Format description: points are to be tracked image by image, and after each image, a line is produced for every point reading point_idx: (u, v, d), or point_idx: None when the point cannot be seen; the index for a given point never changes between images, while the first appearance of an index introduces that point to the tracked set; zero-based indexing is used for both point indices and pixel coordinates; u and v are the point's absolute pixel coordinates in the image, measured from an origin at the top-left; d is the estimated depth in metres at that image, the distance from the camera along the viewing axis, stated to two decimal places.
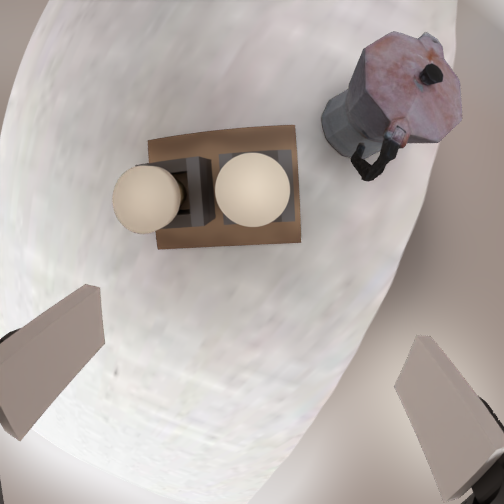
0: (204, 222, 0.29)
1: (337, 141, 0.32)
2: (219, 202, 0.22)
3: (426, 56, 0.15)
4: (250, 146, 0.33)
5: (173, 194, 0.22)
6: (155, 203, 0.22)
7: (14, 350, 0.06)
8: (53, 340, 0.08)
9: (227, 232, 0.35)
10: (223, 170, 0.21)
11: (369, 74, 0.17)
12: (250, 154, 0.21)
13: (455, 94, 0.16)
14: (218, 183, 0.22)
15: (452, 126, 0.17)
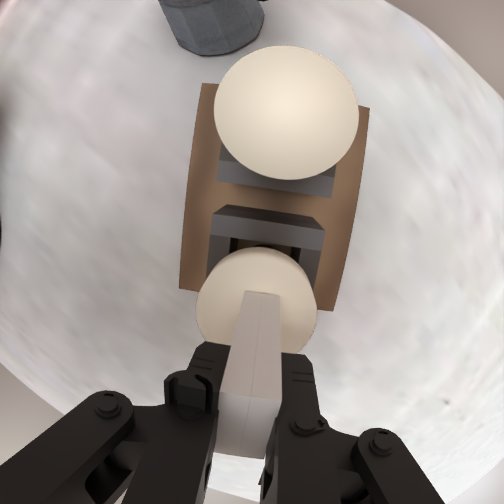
0: (319, 229, 0.18)
1: (235, 35, 0.20)
2: (298, 174, 0.11)
3: None
4: (220, 145, 0.23)
5: (261, 256, 0.13)
6: (268, 292, 0.13)
7: (251, 363, 0.08)
8: None
9: (336, 204, 0.23)
10: (237, 153, 0.11)
11: None
12: (218, 99, 0.10)
13: None
14: (261, 168, 0.11)
15: None
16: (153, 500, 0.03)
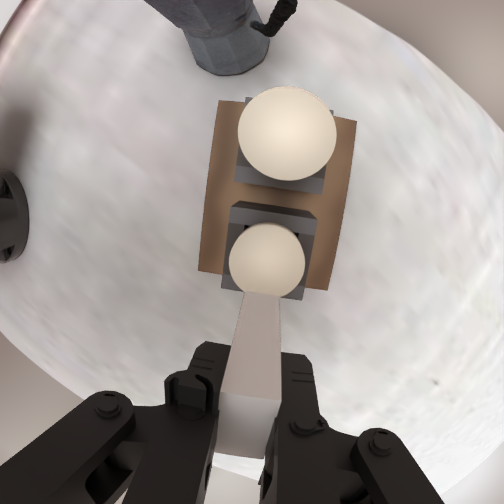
0: (313, 218, 0.23)
1: (246, 59, 0.25)
2: (295, 177, 0.16)
3: None
4: (234, 152, 0.28)
5: (270, 225, 0.21)
6: (274, 247, 0.21)
7: (251, 363, 0.08)
8: None
9: (329, 201, 0.28)
10: (254, 162, 0.16)
11: None
12: (240, 125, 0.16)
13: None
14: (269, 172, 0.16)
15: None
16: (154, 500, 0.03)
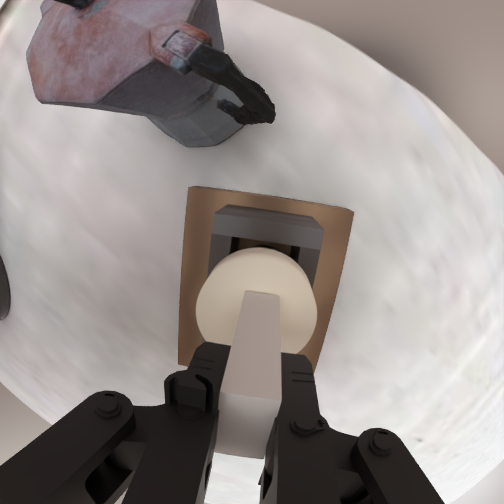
0: None
1: (220, 131, 0.22)
2: None
3: None
4: (208, 251, 0.25)
5: None
6: None
7: (251, 363, 0.08)
8: None
9: None
10: None
11: (70, 94, 0.08)
12: (198, 307, 0.13)
13: None
14: None
15: None
16: (153, 500, 0.03)
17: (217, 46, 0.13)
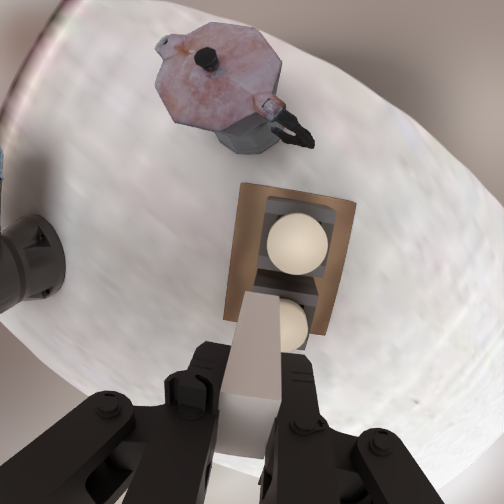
0: (315, 294, 0.31)
1: (264, 144, 0.33)
2: (300, 272, 0.27)
3: (184, 56, 0.17)
4: (253, 229, 0.35)
5: (283, 305, 0.29)
6: (286, 320, 0.29)
7: (251, 363, 0.08)
8: None
9: (329, 269, 0.36)
10: (276, 264, 0.27)
11: (203, 122, 0.19)
12: (268, 240, 0.27)
13: (228, 30, 0.17)
14: (285, 270, 0.27)
15: (264, 41, 0.17)
16: (154, 500, 0.03)
17: (274, 94, 0.23)
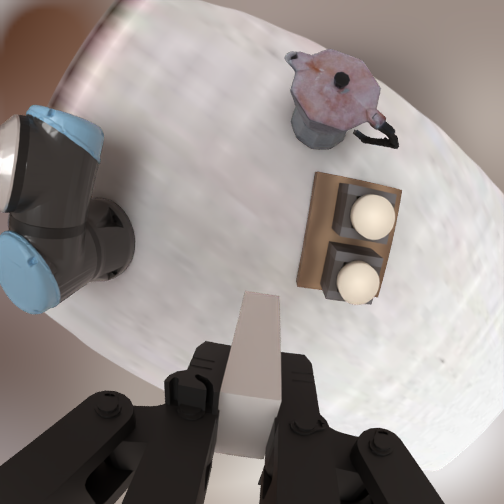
0: (380, 257, 0.38)
1: (336, 142, 0.40)
2: (376, 238, 0.35)
3: (316, 72, 0.24)
4: (327, 209, 0.43)
5: (363, 264, 0.36)
6: (364, 276, 0.36)
7: (251, 363, 0.08)
8: None
9: None
10: (360, 231, 0.35)
11: (333, 123, 0.26)
12: (355, 213, 0.34)
13: (344, 58, 0.24)
14: (366, 236, 0.35)
15: (369, 71, 0.24)
16: (154, 500, 0.03)
17: None
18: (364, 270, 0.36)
